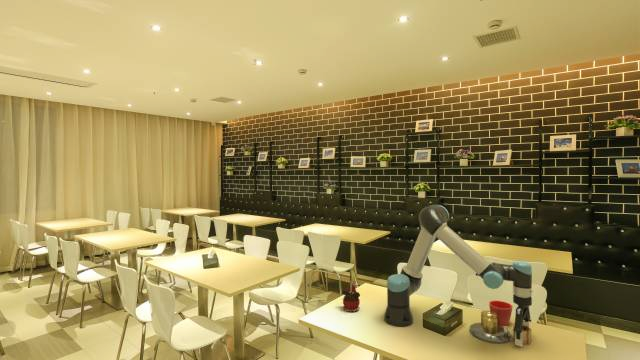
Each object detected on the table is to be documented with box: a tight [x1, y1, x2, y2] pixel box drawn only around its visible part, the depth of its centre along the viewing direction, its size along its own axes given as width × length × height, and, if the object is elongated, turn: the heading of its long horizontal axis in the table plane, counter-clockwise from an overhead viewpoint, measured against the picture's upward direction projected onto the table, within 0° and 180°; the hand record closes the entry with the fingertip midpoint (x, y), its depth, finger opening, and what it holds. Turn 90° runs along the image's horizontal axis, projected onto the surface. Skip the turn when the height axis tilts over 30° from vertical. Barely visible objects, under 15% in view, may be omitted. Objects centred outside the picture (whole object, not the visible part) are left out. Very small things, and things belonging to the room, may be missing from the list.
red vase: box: [342, 278, 361, 312], centre depth 193 cm, size 11×9×18 cm
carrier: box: [469, 309, 512, 344], centre depth 163 cm, size 18×20×8 cm
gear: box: [512, 325, 532, 345], centre depth 155 cm, size 7×7×6 cm
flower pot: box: [488, 300, 513, 327], centre depth 174 cm, size 11×11×10 cm
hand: (522, 340), depth 155 cm, fingers open, 13 cm apart
